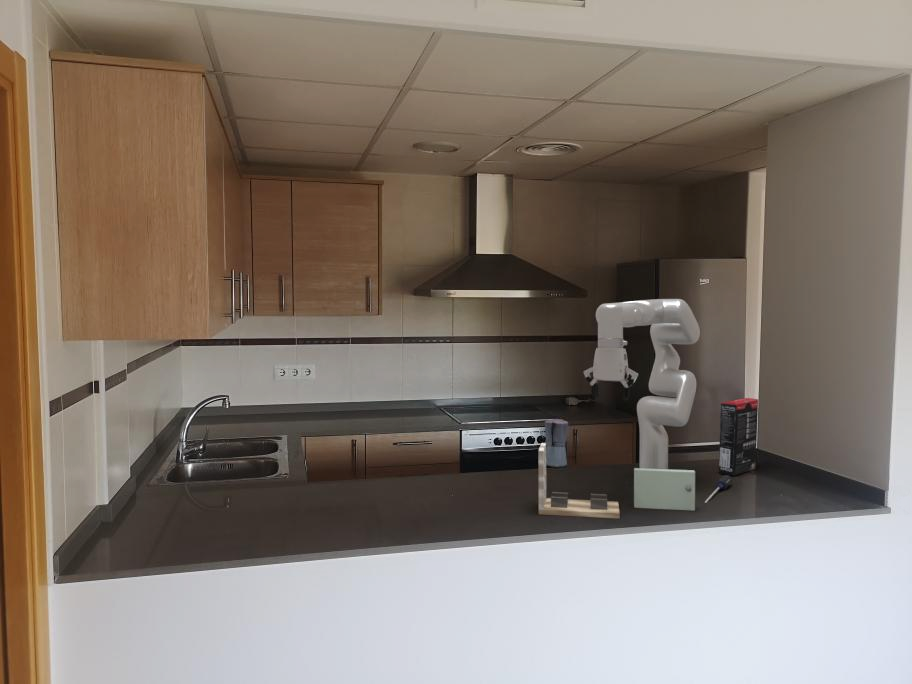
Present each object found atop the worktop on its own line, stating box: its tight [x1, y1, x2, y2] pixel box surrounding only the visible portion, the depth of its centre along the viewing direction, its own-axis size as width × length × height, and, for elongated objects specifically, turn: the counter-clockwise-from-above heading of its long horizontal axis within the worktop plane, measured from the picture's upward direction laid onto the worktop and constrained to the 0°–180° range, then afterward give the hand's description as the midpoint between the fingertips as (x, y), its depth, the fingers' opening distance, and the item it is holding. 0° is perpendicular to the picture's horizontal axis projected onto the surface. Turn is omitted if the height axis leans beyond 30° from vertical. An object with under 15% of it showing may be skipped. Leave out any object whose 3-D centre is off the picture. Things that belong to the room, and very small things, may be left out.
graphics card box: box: [718, 397, 759, 477], centre depth 247 cm, size 17×7×27 cm, turn 130°
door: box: [633, 467, 696, 511], centre depth 205 cm, size 4×18×12 cm, turn 78°
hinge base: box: [537, 442, 621, 520], centre depth 204 cm, size 12×24×20 cm, turn 78°
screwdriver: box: [704, 474, 732, 504], centre depth 220 cm, size 26×4×4 cm, turn 143°
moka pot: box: [544, 414, 569, 468], centre depth 260 cm, size 10×15×20 cm, turn 164°
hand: (610, 399), depth 204 cm, fingers open, 9 cm apart
